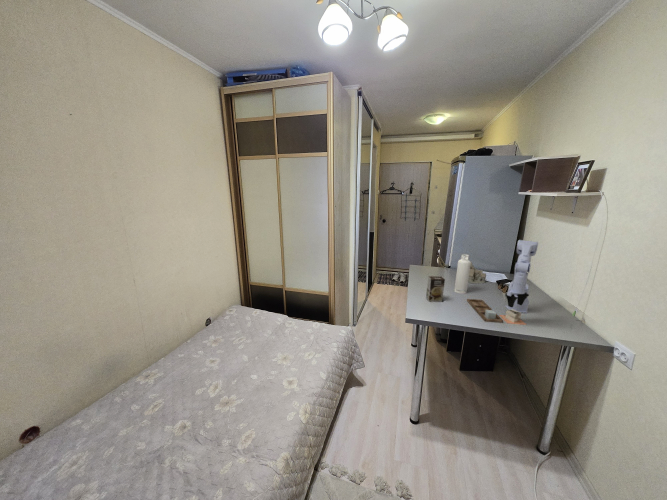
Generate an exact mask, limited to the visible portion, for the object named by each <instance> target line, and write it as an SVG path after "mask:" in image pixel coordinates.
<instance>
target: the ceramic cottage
mask: <svg viewBox="0 0 667 500" xmlns="http://www.w3.org/2000/svg"><path fill="white" fill-rule="evenodd" d="M470 262H471V265H470V271H469V278H468V284H486V278H487V273H485V272H484V271H483V269H476V268H475V267H474V265H473V262H472V261H470Z"/></svg>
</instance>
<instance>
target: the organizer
mask: <svg viewBox="0 0 667 500" xmlns="http://www.w3.org/2000/svg"><path fill="white" fill-rule="evenodd" d="M466 302H467V303H468V304H469V306H470V307H471V308H472V309H473V310H474V311H475V312H476V313H477V315H478V316H479V317H480V318H481V319H482V320H483V321H484V322H486V323H489V322H490V323H500V324H502V323H504V320H503V319H502V318H501V317H500V316H499V314H497V313H496V318H495V319H487V318H486V317H485V311H486V310H493V309H492V308H491V307H490V306H489V305H488V304H487V303H486V302H485V301H484V300H483V299H477V298H475V299H474V298H466Z"/></svg>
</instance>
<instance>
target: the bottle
mask: <svg viewBox="0 0 667 500" xmlns="http://www.w3.org/2000/svg"><path fill="white" fill-rule="evenodd" d="M469 258H470V255H469V254H465V253H462V254H461V256H460V259H458V261H457V265H456V275H455V282H454V283H455V284H454V292H455V293H456V294H463V295H464V294H467V290H468V284H469V283H468V278H469V271H470V265H471V262H472V261H470V260H469Z"/></svg>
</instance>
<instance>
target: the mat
mask: <svg viewBox="0 0 667 500" xmlns="http://www.w3.org/2000/svg"><path fill="white" fill-rule="evenodd" d="M498 316H499V317H500V318H501V319H502V320H503V322H505V323H506V324H509V325H519V326H520V325H522V326H527V325H528V324H527V323H526V322H525V321H523V320H522V319H521V318H520V321H518V322H512V321H510V320H508V319H505V316H506V314H498Z"/></svg>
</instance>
